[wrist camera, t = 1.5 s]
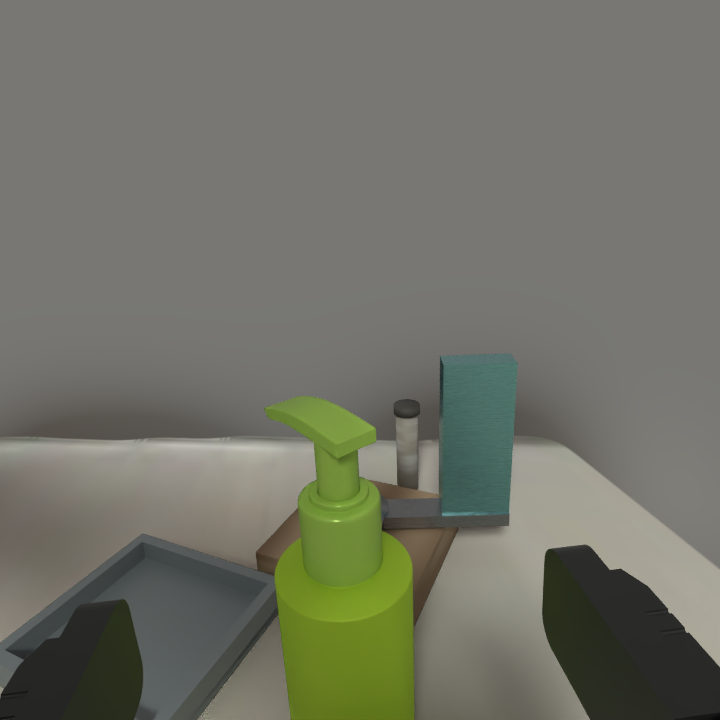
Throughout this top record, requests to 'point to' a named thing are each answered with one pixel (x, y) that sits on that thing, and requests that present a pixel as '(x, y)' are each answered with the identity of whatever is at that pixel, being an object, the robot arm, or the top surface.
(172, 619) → the tray
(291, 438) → the top surface
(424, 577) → the crank base
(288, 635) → the soap dispenser
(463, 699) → the top surface
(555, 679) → the top surface
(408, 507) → the teal upright panel
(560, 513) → the top surface
